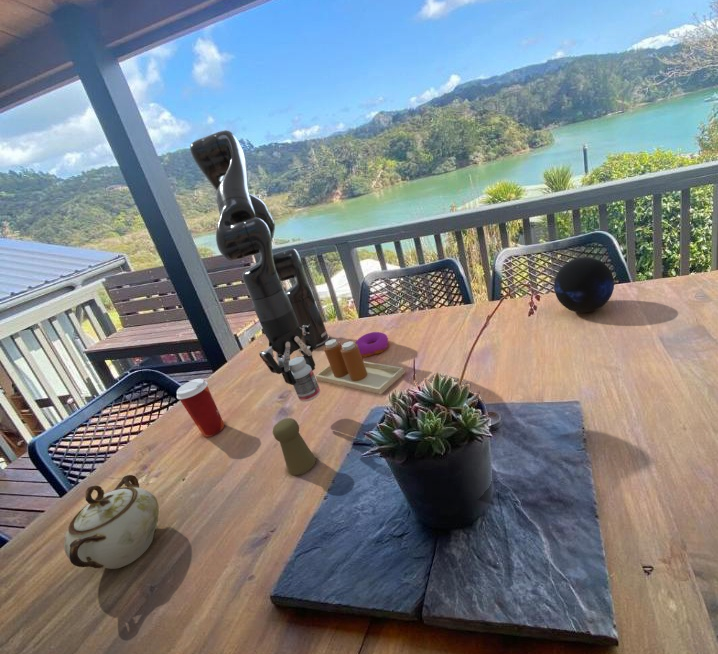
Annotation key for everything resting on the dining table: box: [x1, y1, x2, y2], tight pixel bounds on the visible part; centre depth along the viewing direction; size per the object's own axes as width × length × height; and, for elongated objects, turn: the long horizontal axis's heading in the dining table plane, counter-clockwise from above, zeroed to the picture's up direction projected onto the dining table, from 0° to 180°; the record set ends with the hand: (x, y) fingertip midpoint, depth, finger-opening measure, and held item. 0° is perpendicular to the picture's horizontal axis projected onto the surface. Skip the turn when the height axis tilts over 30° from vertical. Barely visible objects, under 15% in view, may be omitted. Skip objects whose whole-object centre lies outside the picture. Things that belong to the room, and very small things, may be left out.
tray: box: [314, 360, 406, 395], centre depth 119 cm, size 25×10×2 cm, turn 52°
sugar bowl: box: [63, 474, 160, 570], centre depth 79 cm, size 20×15×15 cm
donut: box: [355, 331, 389, 358], centre depth 133 cm, size 10×10×5 cm
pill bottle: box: [289, 356, 321, 403], centre depth 101 cm, size 5×5×10 cm
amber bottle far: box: [323, 338, 348, 378], centre depth 122 cm, size 5×5×10 cm
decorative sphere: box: [553, 256, 615, 314], centre depth 118 cm, size 15×15×15 cm
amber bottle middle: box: [341, 340, 367, 381], centre depth 117 cm, size 5×5×10 cm
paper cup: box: [176, 378, 225, 438], centre depth 112 cm, size 8×8×14 cm
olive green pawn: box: [272, 417, 317, 476], centre depth 89 cm, size 6×6×11 cm
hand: (301, 376), depth 101 cm, fingers closed on pill bottle, 5 cm apart
